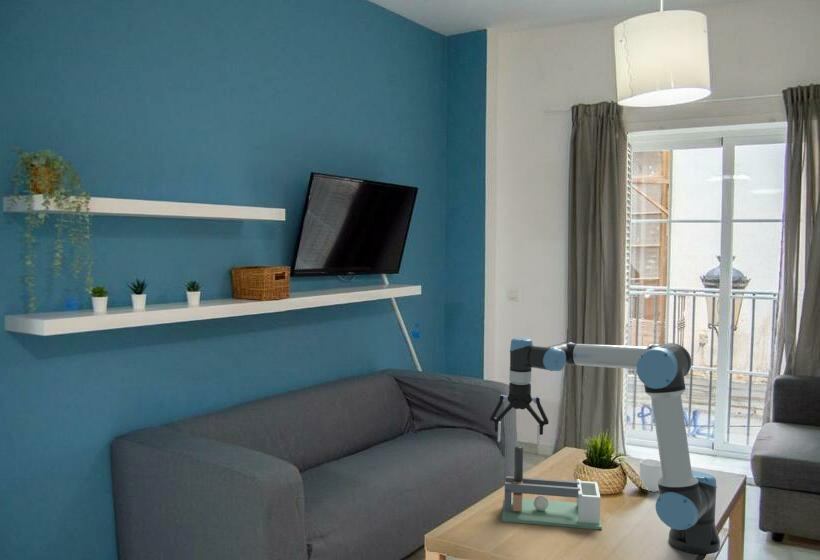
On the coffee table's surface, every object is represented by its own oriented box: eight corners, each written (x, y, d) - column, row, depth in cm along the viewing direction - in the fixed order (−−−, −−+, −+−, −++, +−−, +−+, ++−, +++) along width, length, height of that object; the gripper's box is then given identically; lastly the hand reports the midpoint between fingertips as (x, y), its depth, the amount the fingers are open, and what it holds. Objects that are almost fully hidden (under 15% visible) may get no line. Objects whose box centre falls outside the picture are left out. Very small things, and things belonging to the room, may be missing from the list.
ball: (548, 513, 246) (548, 499, 246) (533, 512, 247) (533, 498, 247) (548, 508, 251) (548, 494, 251) (533, 507, 252) (533, 493, 252)
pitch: (601, 529, 236) (602, 497, 235) (501, 521, 242) (502, 489, 241) (597, 507, 255) (598, 477, 255) (505, 499, 261) (505, 470, 261)
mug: (657, 482, 282) (658, 456, 281) (673, 488, 274) (674, 462, 274) (634, 486, 277) (635, 460, 276) (650, 493, 269) (651, 467, 268)
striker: (521, 511, 245) (522, 451, 244) (512, 510, 246) (514, 451, 244) (522, 500, 255) (523, 443, 254) (514, 500, 256) (515, 442, 254)
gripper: (556, 382, 249) (554, 441, 251) (485, 378, 254) (483, 436, 255) (556, 386, 242) (554, 447, 243) (483, 382, 246) (481, 442, 248)
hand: (518, 442), depth 249 cm, fingers open, 13 cm apart
